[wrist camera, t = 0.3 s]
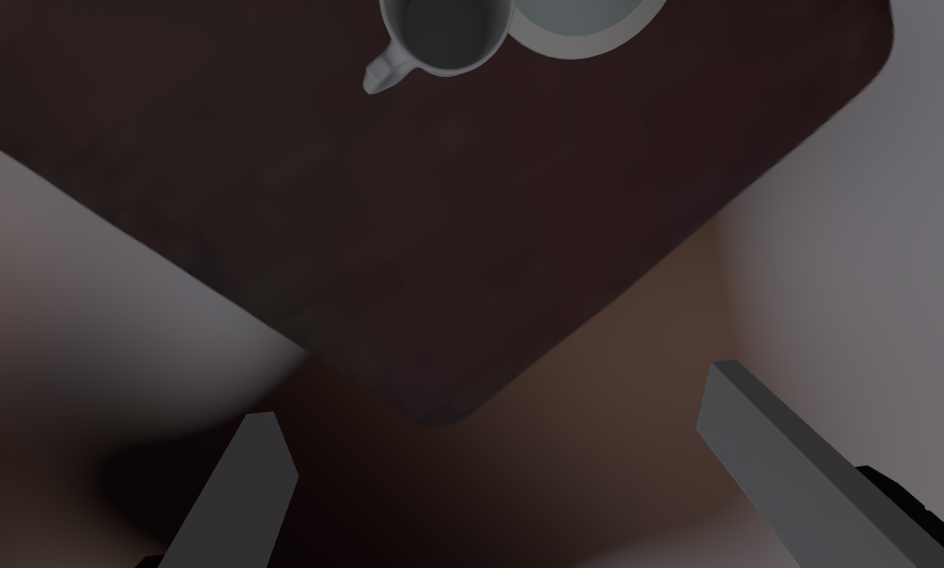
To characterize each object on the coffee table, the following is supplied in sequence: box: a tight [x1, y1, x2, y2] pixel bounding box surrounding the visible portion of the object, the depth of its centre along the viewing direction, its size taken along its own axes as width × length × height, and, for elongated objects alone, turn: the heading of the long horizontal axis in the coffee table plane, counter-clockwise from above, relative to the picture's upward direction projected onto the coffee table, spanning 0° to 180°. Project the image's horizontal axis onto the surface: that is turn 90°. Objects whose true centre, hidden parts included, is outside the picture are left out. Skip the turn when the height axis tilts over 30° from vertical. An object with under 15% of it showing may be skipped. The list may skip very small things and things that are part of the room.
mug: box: [363, 0, 516, 94], centre depth 26 cm, size 10×7×12 cm, turn 128°
